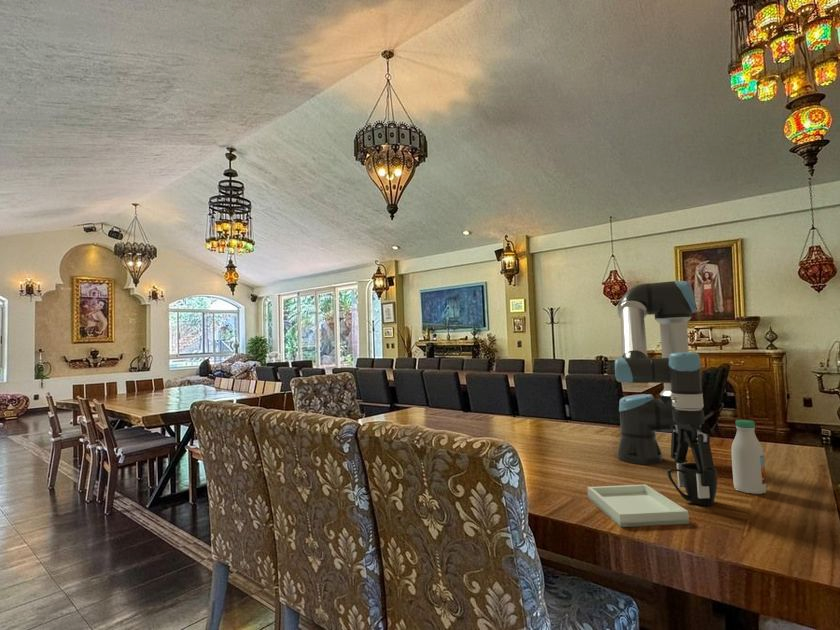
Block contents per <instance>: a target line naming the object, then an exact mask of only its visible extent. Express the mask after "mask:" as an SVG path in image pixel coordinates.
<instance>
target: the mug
mask: <svg viewBox="0 0 840 630" xmlns="http://www.w3.org/2000/svg"><path fill="white" fill-rule="evenodd" d="M685 463H686V464H682V465H681V470H680V469H677V468H669V469H667V472H666V473H667V478H668V479H669V481H670V482H671V484H672V485H673V487H674V488H675V490H677V492H678V493H679V494H680V496H681V497H682V498H683V499H684V500H686V501H688V502H690V503H692V504H694V505H699V506H713V505H714V502H715V498H716V494H717V488H718V476H717V468H716V467H715V466H714V470H715V472H714V473H709V494H710V498H698V492H697V478H696V472H697V471H698V469H697V465H696V462H685ZM673 471H674V472H677V471H679V472H682V479H683V483H684V487H683V488H684V490H685V492H686V493H684V492H683V491H681V488H680V487H678V484H676V482H675V481H674V479H673V477H672V472H673Z"/></svg>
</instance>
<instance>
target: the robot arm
mask: <svg viewBox="0 0 840 630" xmlns="http://www.w3.org/2000/svg"><path fill="white" fill-rule="evenodd" d="M696 312H697V306H696V299H695V295H694V291H693V288H692V286H691V284H690V282H688V281H686V280H673V281H662V282H661V281H660V282H650V283H641V284H637V285H635V286H633V287H631V288H630V289H629V290H627V291H626V292H625V293H624V294H623V295H622V297H621V298H620V300H619V302H618V304H617V315H618V317H619V318H620V336H621V337H620V339H621V341H620V342H621V344H620V346H621V347H620V348H621V357H620V358H616V359H615V360H614V376H615V380H616V382H618V383H629V384H642V383H643V384H647V383H654V384H656V383H657V384H663V390H662V391H661V392H660V393H659V398H654V395H653V394H651V393H650V394H649V393H648V394H646V393H642V394H641V393H640V394H632V395H625V396H624V397H621V398H620V399H619V402H618V403H619V405H618V406H619V407H618V412H619V423H620V424H619V425H620V439H619V441H618V446H617V449H616V457H617V458H618V460H620V461H623V462H627V463H632V464H638V465H639V464H641V465H652V464H653V465H654V464H659V463H661V462H662V461H663V453H662V451H661V449H660V446H659V444H658V441H657V439H656V438H657V437H656V432H668V433H669V432H671V439H670V440H671V443H670V458H671V459H674V462H675V463H676V469H680V470H681V465H682V464H686V463H689V461H688V460H687V455H688V451H689V448H690V449H691V452H692V455H693V458H694V463H696V465H697V469H698V471H697V472H696V478H697V492H698V498H710V494H709V473H714V472H715V470H714V467H715V463H714V460H713V455H712V454H713V453H712V449H711V443H710V442H711V435H710V434H709V433H704V432H703V431H702V429H701V427H702V425H703V424H704V423H705V412H704V410H703V408H704V397H703V395H704V393H703V387H702V386H703V385H702V368H701V367H702V363H701V359H700V354H699V353H698V352H692V351H690V349H689V333H688V322H689V321H690V320H691V319H692V314H694V313H696ZM650 315H654V321H656V322H657V323H658V324H659V330H660V331H659V332H660V346H661V349H660V350H661V357H655V358H654V357H648V349H647V336H646V335H647V334H646V325H645V324H646V323H645V318H646V316H650ZM676 474H677V475H676V476H677V487H678V488H685V487H684V483H683V479H682V472H679V471H676Z"/></svg>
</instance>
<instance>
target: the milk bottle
mask: <svg viewBox="0 0 840 630" xmlns="http://www.w3.org/2000/svg"><path fill="white" fill-rule="evenodd" d="M755 427H756V423H755V421H754V420H750V419H749V420H748V419H736V420H735V428H736V434H735V437H734V439H733V441H732V444H731V449H730V450H731V467H732V468H731V469H732V478H733V479H732V480H733V482H732V483H733V487H734V489H735V490H736V491H739V492H741V493H746V494H750V493H751V495H762V494H763V493H764V494H766V492H767V478H766V464H765V456H764V449H763V447H762V444H761V443H760V441H759V439H758V438H757V436H756V432H755V430H756V428H755Z"/></svg>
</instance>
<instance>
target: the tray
mask: <svg viewBox="0 0 840 630" xmlns="http://www.w3.org/2000/svg"><path fill="white" fill-rule="evenodd" d="M587 498H588V499H589V500H590V501H591V502H592V503H594V505H595V506H597V508H599V509H600V510H601V511H602V512H604V514H605V515H607V516H608V518H610V520H612V521H613V522H614V523H615V524H616V525H618V526H619V528H625V527H626V528H627V527H650V526H672V525H690V519H689V517H690V516H689V510H687V509H685V508H684V507H682V506H681V505H679V504H677V503H675V502H674V501H673V500H671V499H670V498H668V497H666V496H665V495H663V494H662V493H660V492H659V491H657V490H656V489H654V488H653V487H650V486H649V485H647V484H626V485H625V484H624V485H607V486H606V485H604V486H601V485H600V486H587Z"/></svg>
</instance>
